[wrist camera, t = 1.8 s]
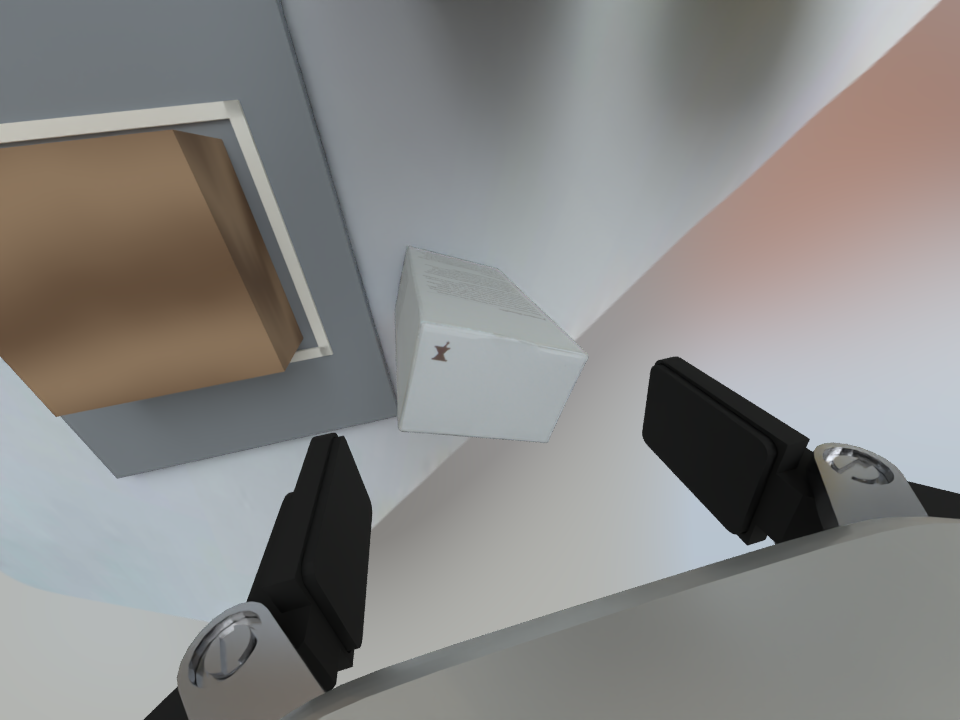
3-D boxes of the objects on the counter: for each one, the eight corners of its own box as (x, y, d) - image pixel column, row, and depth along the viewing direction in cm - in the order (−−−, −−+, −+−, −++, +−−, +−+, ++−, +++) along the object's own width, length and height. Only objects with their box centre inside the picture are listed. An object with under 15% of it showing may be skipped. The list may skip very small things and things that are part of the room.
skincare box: (393, 311, 22) (391, 434, 12) (406, 243, 20) (417, 316, 10) (483, 329, 24) (549, 448, 13) (502, 268, 22) (595, 351, 12)
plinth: (-36, 168, 14) (-174, 167, 11) (221, 139, 16) (172, 129, 12) (116, 373, 19) (55, 416, 16) (303, 338, 20) (284, 371, 17)
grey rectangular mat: (-330, -60, 11) (-403, -83, 10) (255, -83, 13) (244, -105, 12) (127, 467, 23) (114, 480, 22) (398, 407, 25) (398, 417, 24)
